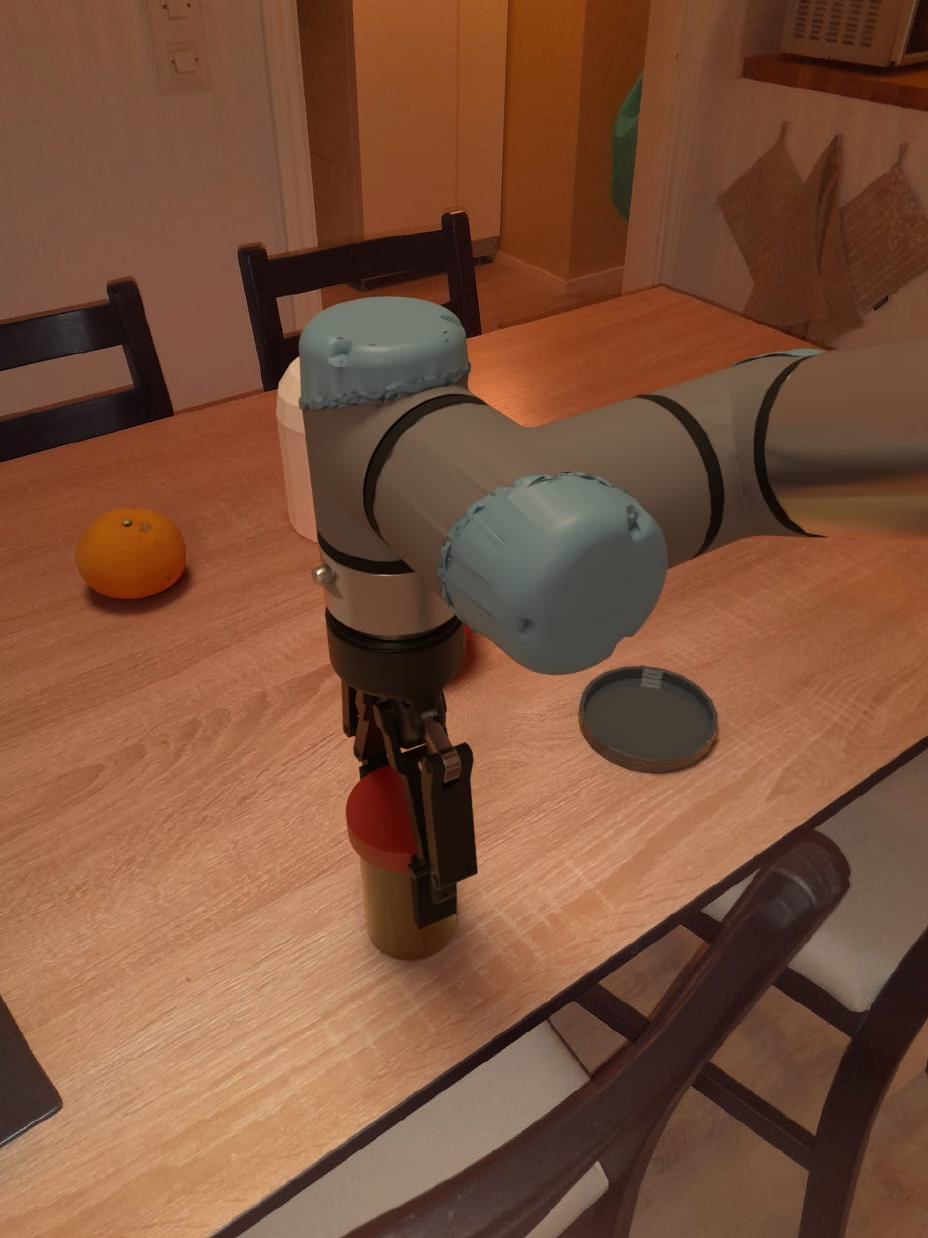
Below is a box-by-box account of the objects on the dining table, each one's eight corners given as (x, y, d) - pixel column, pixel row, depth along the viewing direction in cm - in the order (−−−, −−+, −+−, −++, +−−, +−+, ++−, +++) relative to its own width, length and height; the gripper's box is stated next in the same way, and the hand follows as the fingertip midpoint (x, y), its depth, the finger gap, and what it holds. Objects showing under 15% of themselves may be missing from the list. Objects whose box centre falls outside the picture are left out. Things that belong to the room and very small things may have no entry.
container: (395, 549, 106) (387, 378, 94) (275, 542, 107) (252, 372, 95) (412, 487, 116) (407, 325, 104) (303, 481, 117) (285, 320, 105)
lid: (322, 833, 62) (320, 814, 61) (399, 764, 67) (398, 745, 66) (414, 894, 58) (413, 875, 57) (488, 816, 63) (489, 797, 62)
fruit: (157, 623, 96) (141, 556, 91) (66, 603, 98) (45, 537, 93) (210, 565, 103) (198, 501, 98) (124, 548, 106) (108, 485, 101)
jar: (474, 923, 69) (476, 816, 62) (405, 978, 65) (399, 872, 58) (416, 868, 72) (411, 762, 65) (348, 918, 69) (335, 811, 62)
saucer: (742, 749, 82) (745, 736, 81) (621, 789, 79) (623, 776, 78) (667, 665, 91) (669, 653, 90) (555, 698, 87) (556, 685, 86)
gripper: (266, 525, 57) (304, 788, 71) (411, 747, 43) (423, 1021, 57) (383, 495, 60) (397, 754, 74) (556, 695, 45) (533, 968, 60)
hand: (408, 870), depth 65 cm, fingers closed on lid, 7 cm apart
